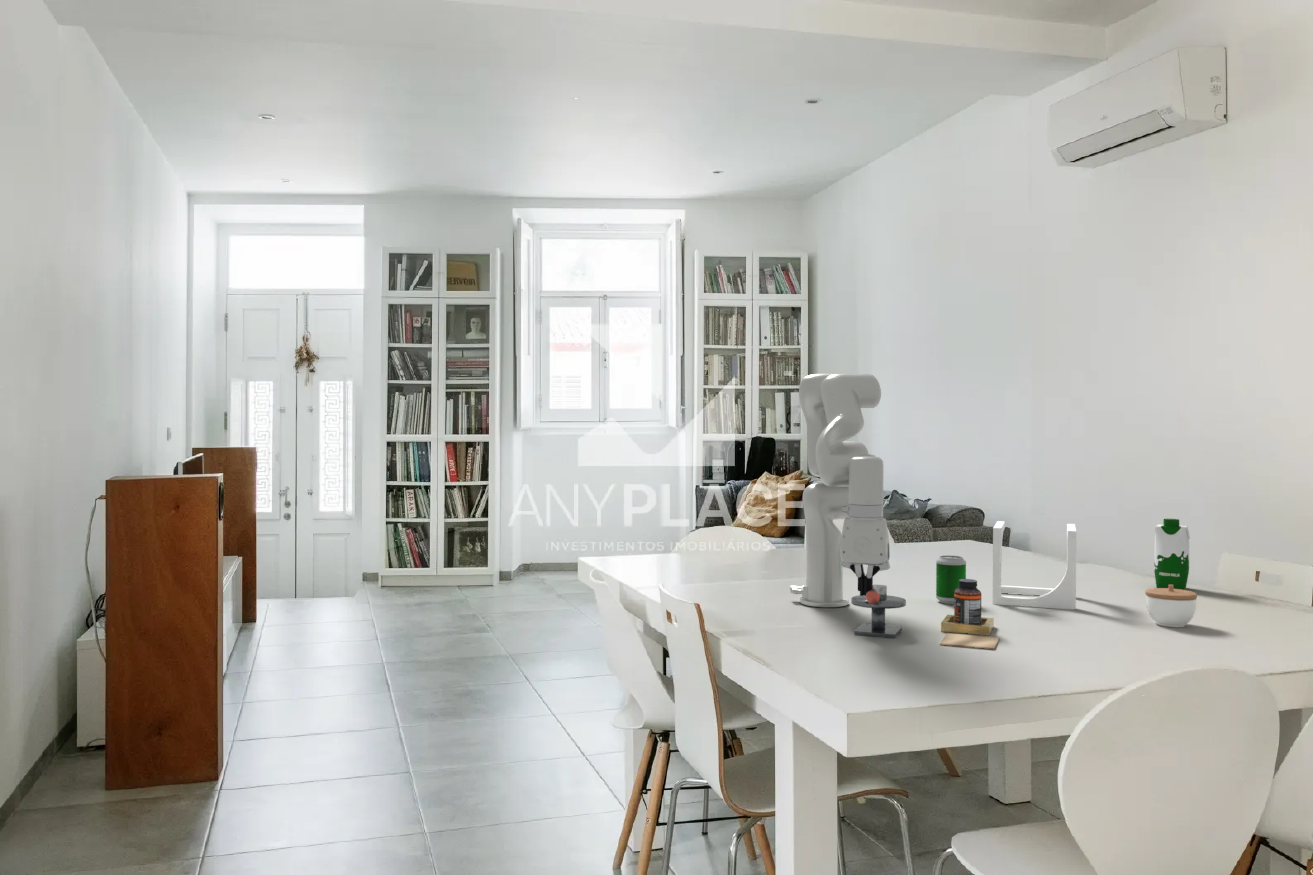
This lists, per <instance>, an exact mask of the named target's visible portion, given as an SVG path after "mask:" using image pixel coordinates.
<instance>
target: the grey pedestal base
mask: <svg viewBox="0 0 1313 875" xmlns="http://www.w3.org/2000/svg"><path fill="white" fill-rule="evenodd" d="M902 631H903V627H902V626H896V625H886V609H878V608H871V623H862V624H860V625H859V626H858V627H857V628H856V629H854V631H853V635H854V634H855V636H866V637H867V636H868V637H879V638H889V639H890V638H891V639H896V637H898V636H899V634H901V632H902Z"/></svg>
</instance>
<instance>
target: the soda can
mask: <svg viewBox="0 0 1313 875" xmlns="http://www.w3.org/2000/svg"><path fill="white" fill-rule="evenodd" d="M935 564H936V565H935V566H936V568H935V569H936V570H935V571H936V573H935V576H936V577H935V579H936V580H935V585H936V586H935V598H936V599H937V600H938V601H940V602H941V604H945V605H954V593H955V590H956V589H958V587H959V580H960V579H967V561H966V560H965V559H964V558H963V556H959V555H940V556H939V557H938V558H937V559H936V562H935ZM940 602H939V603H940Z"/></svg>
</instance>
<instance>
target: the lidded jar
mask: <svg viewBox="0 0 1313 875" xmlns="http://www.w3.org/2000/svg"><path fill="white" fill-rule="evenodd" d="M1197 597H1198V593H1196V592H1194V591H1191V590H1186V589H1185V590H1181V589H1173V585H1169V588H1157V587H1151V588H1147V589H1146V590H1145V603H1146V608H1147V612H1148V615H1149V616H1150V618H1151V619H1152V620H1153V621H1154V622H1155V624H1156V625H1158V626H1160V627H1161V626H1162V627H1168V628H1184V627H1186V625H1187V624H1189V623H1190V621H1192V619H1193V618H1194V615H1195V614H1196V609H1197Z"/></svg>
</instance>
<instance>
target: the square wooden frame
mask: <svg viewBox="0 0 1313 875" xmlns="http://www.w3.org/2000/svg"><path fill="white" fill-rule="evenodd" d="M994 621H995V620H994V617H983V616H981V625H976V624H964V623H954V614H946V616H945V617H944V618H943V619H942V621H941V622H940V632H944V633H952V634H965V633H968V634H967V635H977V634H980V635H979V636H990V635H991V632H992V631H993V629H994V627H995V626H994V624H995V622H994Z"/></svg>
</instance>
